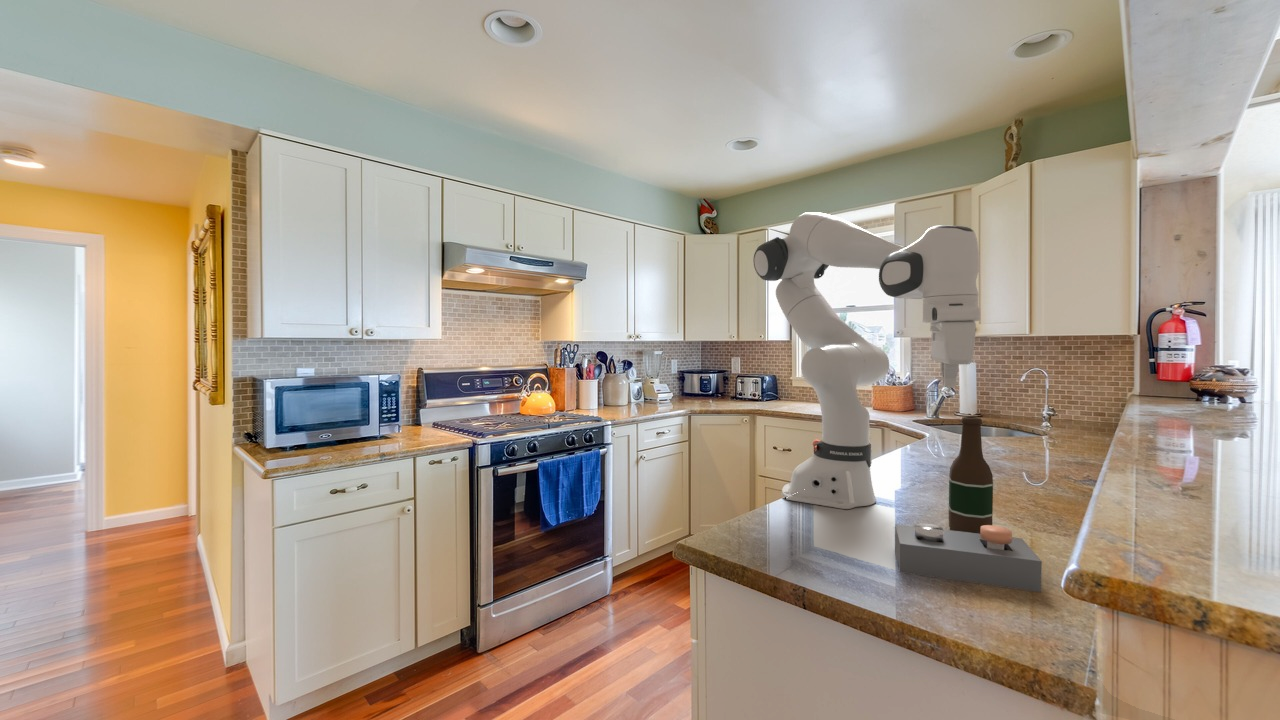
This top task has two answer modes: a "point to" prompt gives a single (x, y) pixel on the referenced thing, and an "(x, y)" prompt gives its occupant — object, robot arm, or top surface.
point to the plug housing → (968, 559)
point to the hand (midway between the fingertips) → (948, 386)
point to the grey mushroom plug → (929, 532)
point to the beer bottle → (970, 482)
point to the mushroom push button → (995, 536)
